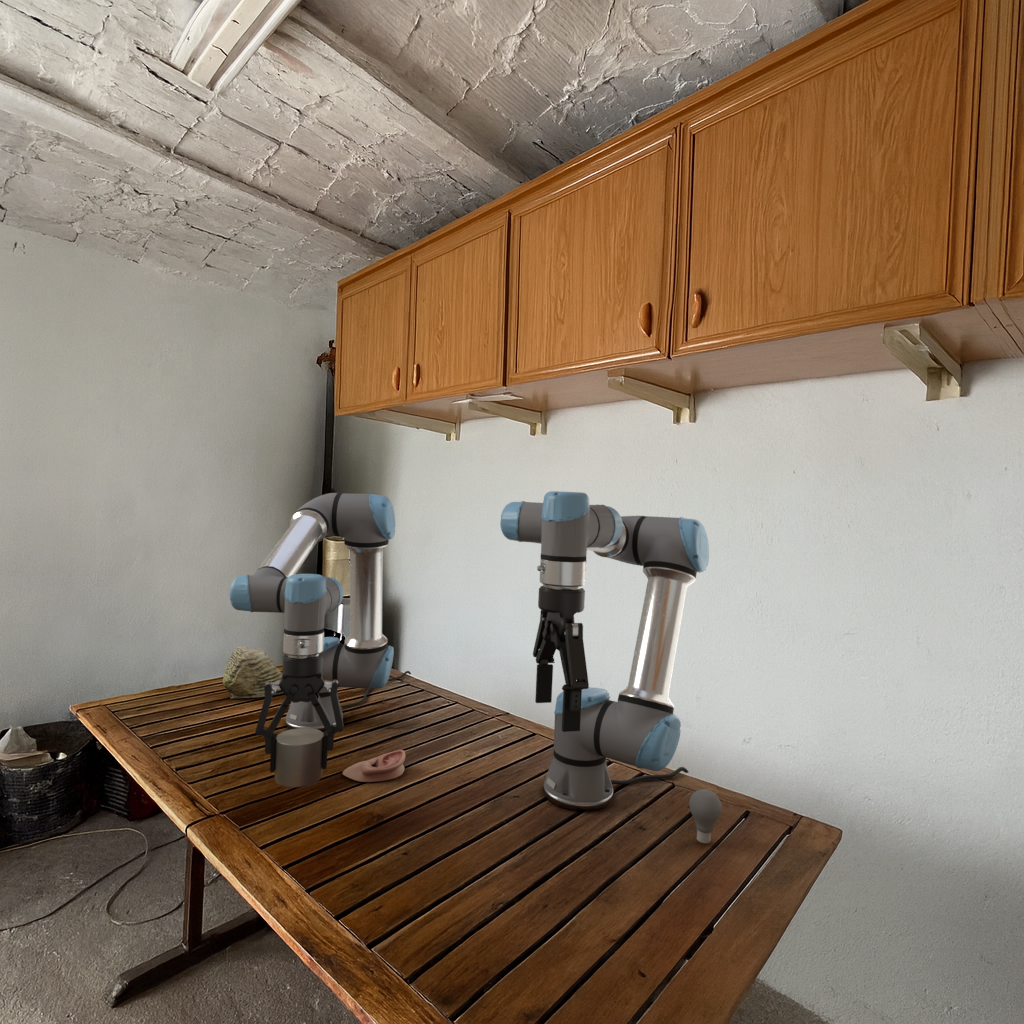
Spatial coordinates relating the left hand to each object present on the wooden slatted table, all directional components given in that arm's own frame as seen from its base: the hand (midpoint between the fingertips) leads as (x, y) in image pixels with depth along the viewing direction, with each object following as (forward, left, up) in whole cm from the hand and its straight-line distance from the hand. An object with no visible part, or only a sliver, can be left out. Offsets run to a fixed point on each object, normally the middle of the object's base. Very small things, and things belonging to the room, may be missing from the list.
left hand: (299, 767), depth 124 cm
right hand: (-14, +51, +19) cm, 56 cm away
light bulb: (-47, +64, -10) cm, 80 cm away
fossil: (-33, -76, -10) cm, 83 cm away
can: (0, 0, -2) cm, 2 cm away
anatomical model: (-23, -5, -10) cm, 26 cm away
